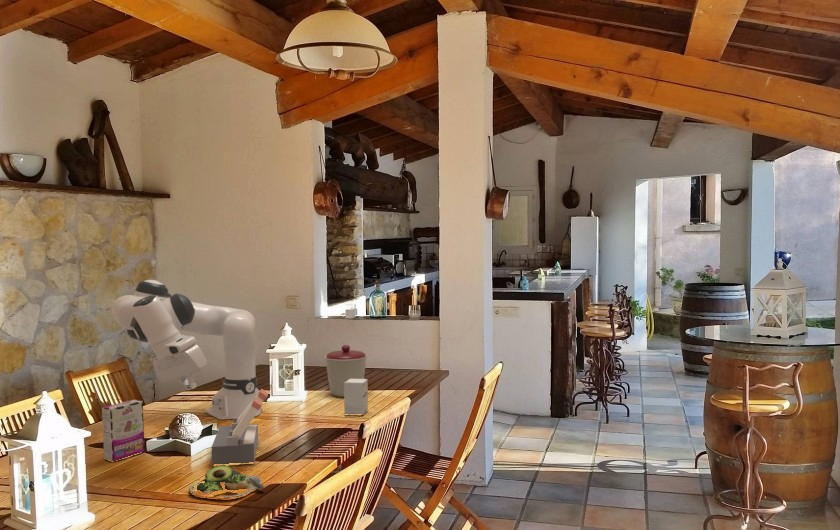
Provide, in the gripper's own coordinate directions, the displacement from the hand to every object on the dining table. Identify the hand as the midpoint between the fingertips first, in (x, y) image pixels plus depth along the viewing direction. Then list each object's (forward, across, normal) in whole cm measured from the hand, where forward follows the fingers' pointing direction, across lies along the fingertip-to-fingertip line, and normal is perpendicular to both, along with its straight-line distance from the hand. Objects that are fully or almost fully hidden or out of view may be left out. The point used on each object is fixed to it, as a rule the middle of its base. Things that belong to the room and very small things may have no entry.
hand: (192, 388), depth 204 cm
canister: (+44, -26, +81) cm, 96 cm away
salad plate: (+25, +17, -17) cm, 34 cm away
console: (+25, -3, +5) cm, 26 cm away
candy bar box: (+11, -28, -13) cm, 33 cm away
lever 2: (+19, +4, +1) cm, 19 cm away
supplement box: (+44, -4, +59) cm, 73 cm away
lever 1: (+19, -6, +12) cm, 24 cm away
